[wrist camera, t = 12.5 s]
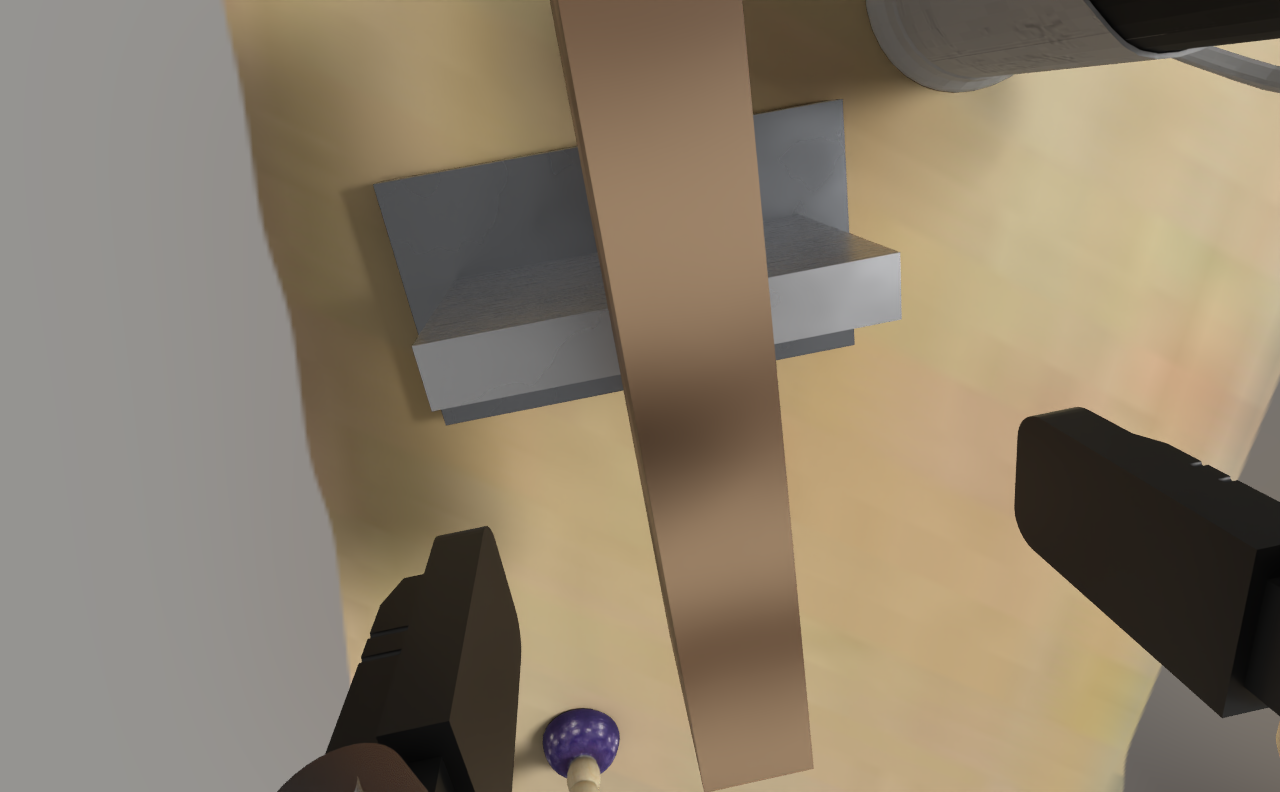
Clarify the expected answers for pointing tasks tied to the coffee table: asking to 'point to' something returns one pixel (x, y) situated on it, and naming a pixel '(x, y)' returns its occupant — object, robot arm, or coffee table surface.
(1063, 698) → the coffee table surface
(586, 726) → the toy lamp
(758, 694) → the brown wooden plank
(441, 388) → the ridge stand
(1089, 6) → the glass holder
